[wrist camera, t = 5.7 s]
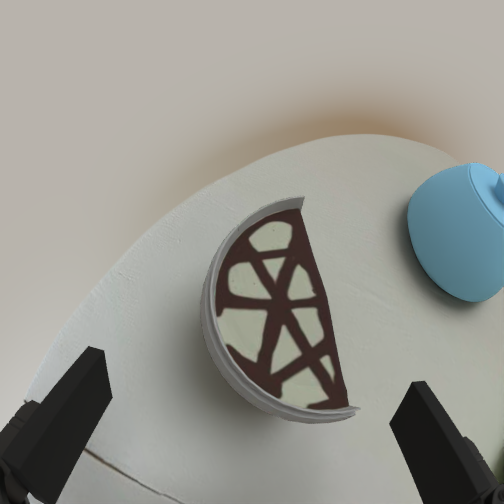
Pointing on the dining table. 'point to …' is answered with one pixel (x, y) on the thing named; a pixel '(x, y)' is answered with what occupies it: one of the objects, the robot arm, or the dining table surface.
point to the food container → (274, 319)
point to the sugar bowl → (461, 230)
